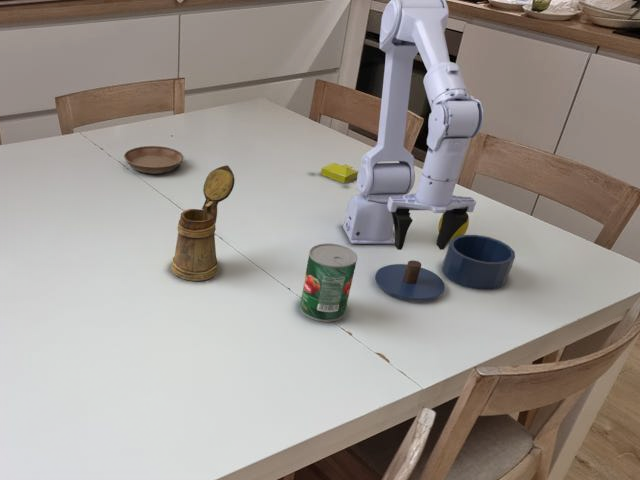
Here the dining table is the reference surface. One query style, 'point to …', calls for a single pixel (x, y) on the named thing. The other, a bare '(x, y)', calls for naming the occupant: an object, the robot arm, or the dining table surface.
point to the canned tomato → (327, 282)
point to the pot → (478, 262)
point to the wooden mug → (201, 230)
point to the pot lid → (410, 281)
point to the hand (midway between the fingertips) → (418, 247)
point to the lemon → (459, 232)
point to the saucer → (153, 159)
